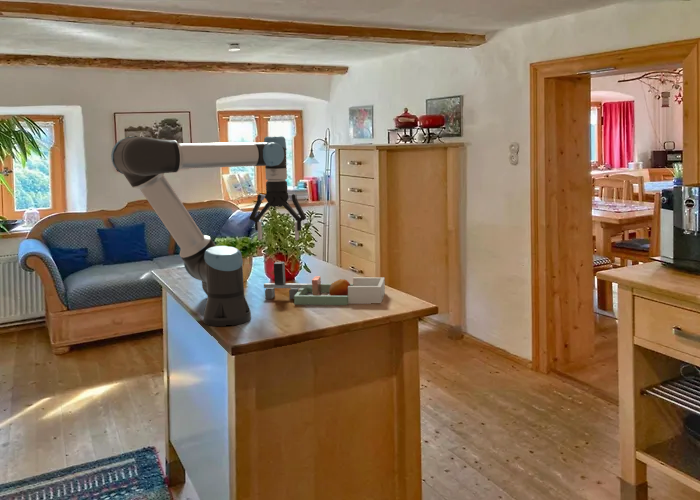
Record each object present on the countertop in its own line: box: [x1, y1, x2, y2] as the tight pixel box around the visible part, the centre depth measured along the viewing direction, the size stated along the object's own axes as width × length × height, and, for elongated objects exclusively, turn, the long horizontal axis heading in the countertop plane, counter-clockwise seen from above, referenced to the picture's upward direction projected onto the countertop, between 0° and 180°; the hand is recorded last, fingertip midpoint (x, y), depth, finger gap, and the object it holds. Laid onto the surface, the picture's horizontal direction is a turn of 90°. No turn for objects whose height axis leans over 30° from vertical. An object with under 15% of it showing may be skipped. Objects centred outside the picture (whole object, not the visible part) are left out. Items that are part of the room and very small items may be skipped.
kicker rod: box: [263, 261, 322, 296], centre depth 231 cm, size 20×6×12 cm, turn 82°
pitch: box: [264, 283, 353, 306], centre depth 231 cm, size 31×18×3 cm, turn 82°
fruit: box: [328, 278, 351, 296], centre depth 230 cm, size 8×8×8 cm
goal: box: [348, 276, 386, 305], centre depth 228 cm, size 12×14×6 cm
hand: (278, 239), depth 230 cm, fingers open, 13 cm apart
